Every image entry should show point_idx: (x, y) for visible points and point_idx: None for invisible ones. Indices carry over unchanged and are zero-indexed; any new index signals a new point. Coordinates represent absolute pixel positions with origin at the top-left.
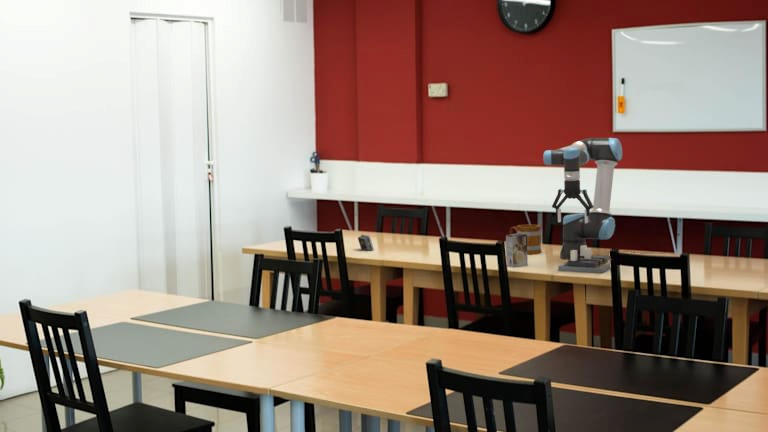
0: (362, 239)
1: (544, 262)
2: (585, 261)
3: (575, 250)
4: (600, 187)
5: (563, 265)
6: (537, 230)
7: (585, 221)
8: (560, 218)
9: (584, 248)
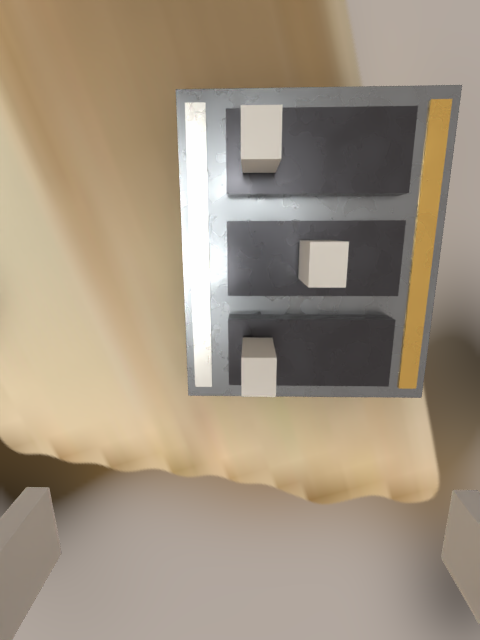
0: None
1: (18, 152)
2: (323, 346)
3: (268, 373)
4: None
5: (211, 383)
6: None
7: (467, 584)
8: (21, 555)
9: (274, 161)
